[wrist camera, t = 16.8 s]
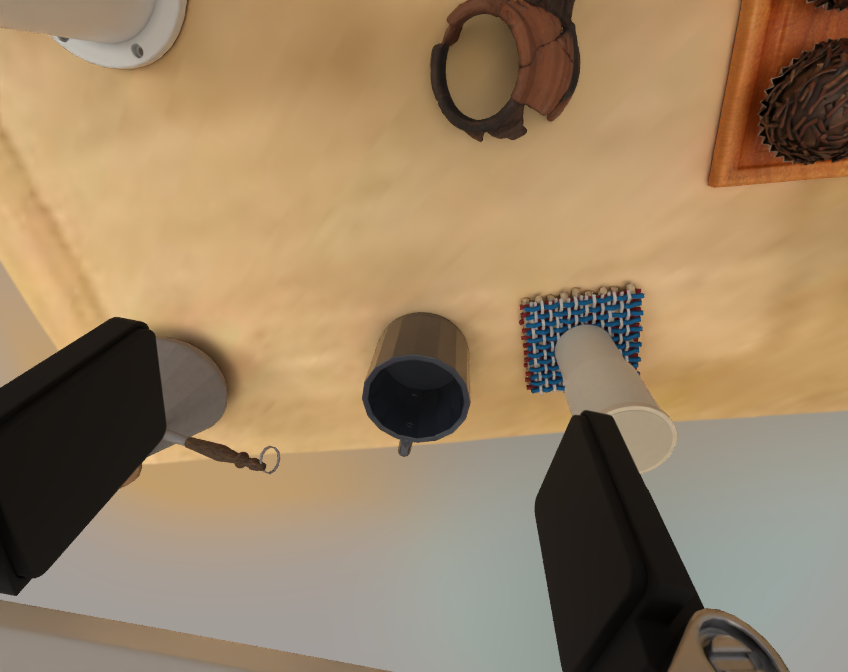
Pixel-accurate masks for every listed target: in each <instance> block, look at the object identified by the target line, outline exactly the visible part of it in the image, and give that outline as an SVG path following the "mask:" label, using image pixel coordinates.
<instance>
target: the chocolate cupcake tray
mask: <svg viewBox="0 0 848 672" xmlns="http://www.w3.org/2000/svg"><path fill="white" fill-rule="evenodd" d="M841 176H848V0H742V6H741V11H740V16H739V22H738V27H737V32H736V38H735V43H734V48H733V54H732V59H731V64H730V70H729V75H728V80H727V86H726V91H725V96H724V102H723V107H722V112H721V118H720V123H719V128H718V134H717V139H716V144H715V150H714V155H713V160H712V166H711V171H710V176H709V182H708V185H709V186H711V187H714V188H715V187H726V186H738V185H749V184H761V183H772V182H784V181H795V180H807V179H818V178H829V177H841Z"/></svg>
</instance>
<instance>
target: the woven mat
mask: <svg viewBox="0 0 848 672" xmlns="http://www.w3.org/2000/svg"><path fill="white" fill-rule="evenodd" d="M626 288H627V289H625V290H623V291H621V292H618V287H611V288H610V292H607V290H606V287H604V288H601V289H600V290H599V292H598V296H595V294H593V291H587V292H585V297H583V295H580V289H577V288H573V289H572V298H570V297H568V293H565V292H564V293H561V294H560V298H555V299H554V296H553V295H549V296H547V302H543V300H542V297H541V296H536V299H535V302H534V303H532V302H530V303H529V298H524V299H522V305H520V310H523V313H521V318H524V319H522V320H520V321H519V324H520V325H523V324H524V329H522V333H525V336H521V339H522V340H525V343H523V347H524V348H526V351H524V355H527V357H526V358H524V359H525V362H526V363H524V367H528V372H526V376H528V378H525V381H527V382H529V385H527V390H529V389H530V390H531V392H532V393H538V392H539V391H540V395H542V391H543V392H546V393H549V392H550V391H552V390H553V392H554V393H555V392H556V390H559V391H561V390H563V393H565V382H564V380H563V377H562V374H561V371H560V368H559V366H558V363H557V360H556V357H555V347H556V344H557V342H558V340H559V338H560V337H561V336H562V335H563V334H564V333H565V332H566V331H568V330H569V329H571V328H573V327H576V326H580V325H594V326H598V327H600V328H602V329H604V330H605V331H606V332H607V333H608V334H609V335H610V337H611V338H612V340H613V342H614V343H615V345H616V346H617V348H618V350H619V351H620V353H621V355H622V356H623V358H624V359H625V361H626V362H628V363H629V364H631V365H632V366H633V367H634V368H635V370H637V367H638V363H637V362H640V361H641V358H640V357H638V353H639V347H641V346H642V343H641V342H638V337H640V332H639V331H642V327H641V326H639V324H640V323H638V322H641V317H640V315H643V311H642V310H641V307H636V306H640V305H641V304H642V300H641V298H644V294H643V293H641V289H635V285H634V284H629V285H626ZM607 293H608V294H607ZM634 298H635V299H634ZM558 307H560V308H559V309H558ZM595 307H596V308H595ZM544 309H547V310H544ZM622 312H623V313H622ZM596 319H597V320H596ZM636 322H637V323H636ZM619 324H620V325H619ZM537 367H538V368H537ZM637 373H638V374H639V376H640V372H639V371H637ZM537 381H538V382H537ZM548 385H549V387H548Z"/></svg>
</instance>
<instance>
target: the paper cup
mask: <svg viewBox="0 0 848 672" xmlns="http://www.w3.org/2000/svg"><path fill="white" fill-rule="evenodd" d="M555 357H556V360H557V363H558V366H559V368H560V371H561V374H562V377H563V380H564V382H565V396H566V399H567V402H568V405H569V408H570V411H571V414H572V416H573V415H580V414H581V412H582V411H584V410H589V411H594V412H599V413H604V414H609V415H611V416H612V417H613V418H614V420H615V422H616V424H617V426H618V428H619V430H620V433H621V435H622V437H623V439H624V441H625V443H626V445H627V447H628V450H629V452H630V454H631V456H632V458H633V460H634V462H635V464H636V467H637V469H638V471H639V473H640V474H641V473H645V472H647V471H650V470H652V469H654V468H655V467H657V466H659V465H660V464H662V463H663V462H664V461H665V460H666V459H667V458H668V457H669V456H670V454H671V453H672V452H673V450H674V448H675V445H676V441H677V431H676V427H675V425H674V423H673V422H672V420H671V419H670V417H669V416H668V415H667V414H666V413H665V412H664V411H663V410H661V409H660V407H659V406H658V404H657V403H656V401H655V399H654V398H653V396H652V395H651V393H650V392H649V390H648V388H647V387H646V385H645V384H644V382H643V381H642V379H641V377H640V376H639V374H638V373H637V371H636V370H635V368H634V367H633V366H632V365H631V364H629V363H628V362H626V361H625V359H624V358H623V356H622V355H621V353H620V351H619V350H618V348H617V346H616V345H615V343H614V342H613V340H612V338H611V337H610V335H609V334H608V333H607V332H606V331H605V330H604V329H602V328H600V327H598V326H594V325H580V326H576V327H573V328H571V329H569V330H568V331H566V332H565V333H564V334H563V335H562V336H561V337H560V338H559V340H558V342H557V344H556V347H555Z"/></svg>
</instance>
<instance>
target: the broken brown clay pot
mask: <svg viewBox="0 0 848 672" xmlns="http://www.w3.org/2000/svg"><path fill="white" fill-rule="evenodd" d="M574 2H575V0H523V1H521V0H517V1H513V0H467V1H466V2H464V3H462V4H460V5H459V6H458V7H457V8H456V9H455V10H454V11H453V12H452V13H451V14H450V15H449V16H448V18H447V21H448V23H449V26H448V28H447V29H446V32H445V35H444V38H443V41H442V43H439V44H437V45H435V46H434V47H433V50H432V54H431V64H430V66H431V84H432V89H433V92H434V95H435V98H436V100H437V101H438V105H439V107H440V109H441V111H442V113H443V114H444V115H445V116H446V118H447V119H448V120H449V121H450V122H451V123H452V124H453V125H454V126H456V127H457V128H459V129H461V130H463V131H465V132H466V133H467V134H468V135H470V136H471V137H472V138H474V139H476V140H478V141H480V142H482V141H483V135H484V132H488V133H489V134H490V135H491V136H493V137H496V138H499V139H503V138H508V139H510V140H515V139H517V138H519V137H521V136H523V135H525V134H526V133H527V129H526V128H525V127H524V126H523V122H524V120H523V111H524V105H528V106H529V107H530V108H532V109H534V110H536V111H537V112H539V113H540V114H541V115H546V114H548V113H549V114H548V116H547V120H548V121H553V120H554V119H555V118H557V117H558V116H559V115H560V114H561V112H562V111H563V110H564V108H565V106H566V105H567V104H568V102H569V101H570V99H571V97H572V95H573V93H574V91H575V88H576V86H577V83H578V78H579V73H580V53H579V47H578V42H577V35H576V31H575V24H574V23H573V22H572V21H571V16H572V9H573V5H574ZM479 14H491V15H493V16H496V17H500V18H501V19H502V20H503V21H504V22H505V23H506V24H507V26H508V27H509V29H510V30H511V32H512V34H513V36H514V38H515V41H516V45H517V49H518V56H519V70H518V77H517V81H516V85H515V87H514V90H513V92H512V94H511V98H510V100H509V101H508V102H507V103H506V105H505V106H504V107H503V108H502V109H501V110H500V111H499V112H498V113H497V114H495V115H493V116H491V117H489V118H486V119H482V120H475V119H472V118H469V117H467V116H465V115H464V114H463V113H461V112H460V111H459V110H458V108H457V107H456V106H455V104H454V102H453V100H452V98H451V96H450V93H449V90H448V86H447V80H446V60H447V54H448V50H449V47H450V46H452V45H453V44H454V43H455V42H457V40H458V38H459V36H460V33H461V30H462V26H463V24H464V23H465V22H466V21H467V20H468V19H470V18H472V17H473V16H476V15H479ZM561 28H563V32H562V33H561ZM558 102H559V103H558Z"/></svg>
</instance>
